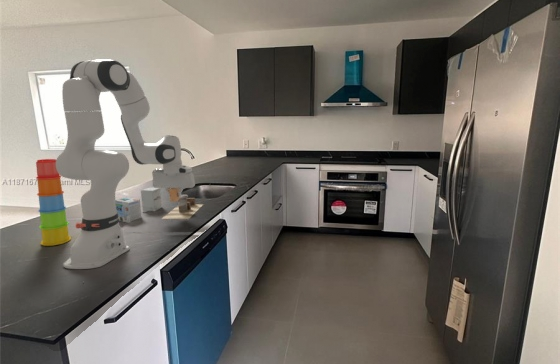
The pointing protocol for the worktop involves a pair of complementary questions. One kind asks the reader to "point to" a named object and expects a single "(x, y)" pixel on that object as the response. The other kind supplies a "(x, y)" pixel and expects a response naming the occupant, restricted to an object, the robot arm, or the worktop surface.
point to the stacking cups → (51, 204)
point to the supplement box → (151, 199)
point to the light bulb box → (128, 209)
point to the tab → (174, 194)
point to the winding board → (182, 215)
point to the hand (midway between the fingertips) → (174, 196)
